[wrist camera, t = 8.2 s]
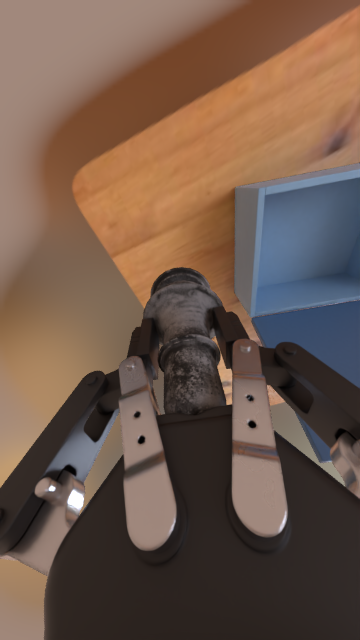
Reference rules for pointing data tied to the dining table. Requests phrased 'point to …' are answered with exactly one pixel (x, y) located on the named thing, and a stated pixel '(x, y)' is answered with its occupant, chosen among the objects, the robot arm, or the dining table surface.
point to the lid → (318, 345)
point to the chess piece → (186, 341)
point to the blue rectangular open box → (298, 241)
